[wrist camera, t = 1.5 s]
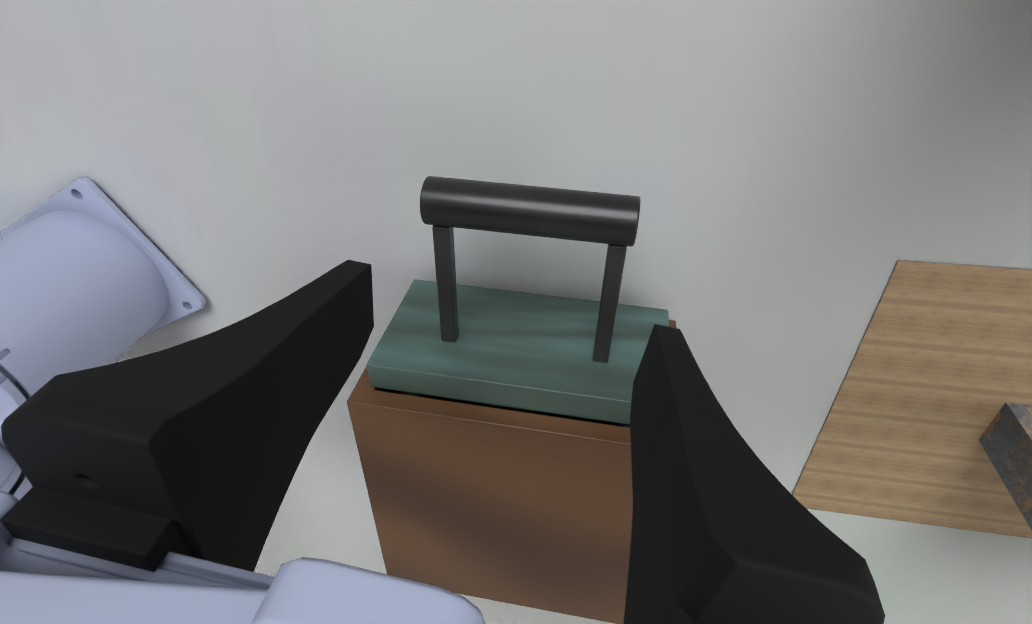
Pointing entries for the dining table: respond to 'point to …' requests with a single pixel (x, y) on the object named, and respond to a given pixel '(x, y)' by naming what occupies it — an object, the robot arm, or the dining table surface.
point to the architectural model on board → (1016, 462)
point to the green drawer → (519, 312)
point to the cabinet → (498, 500)
